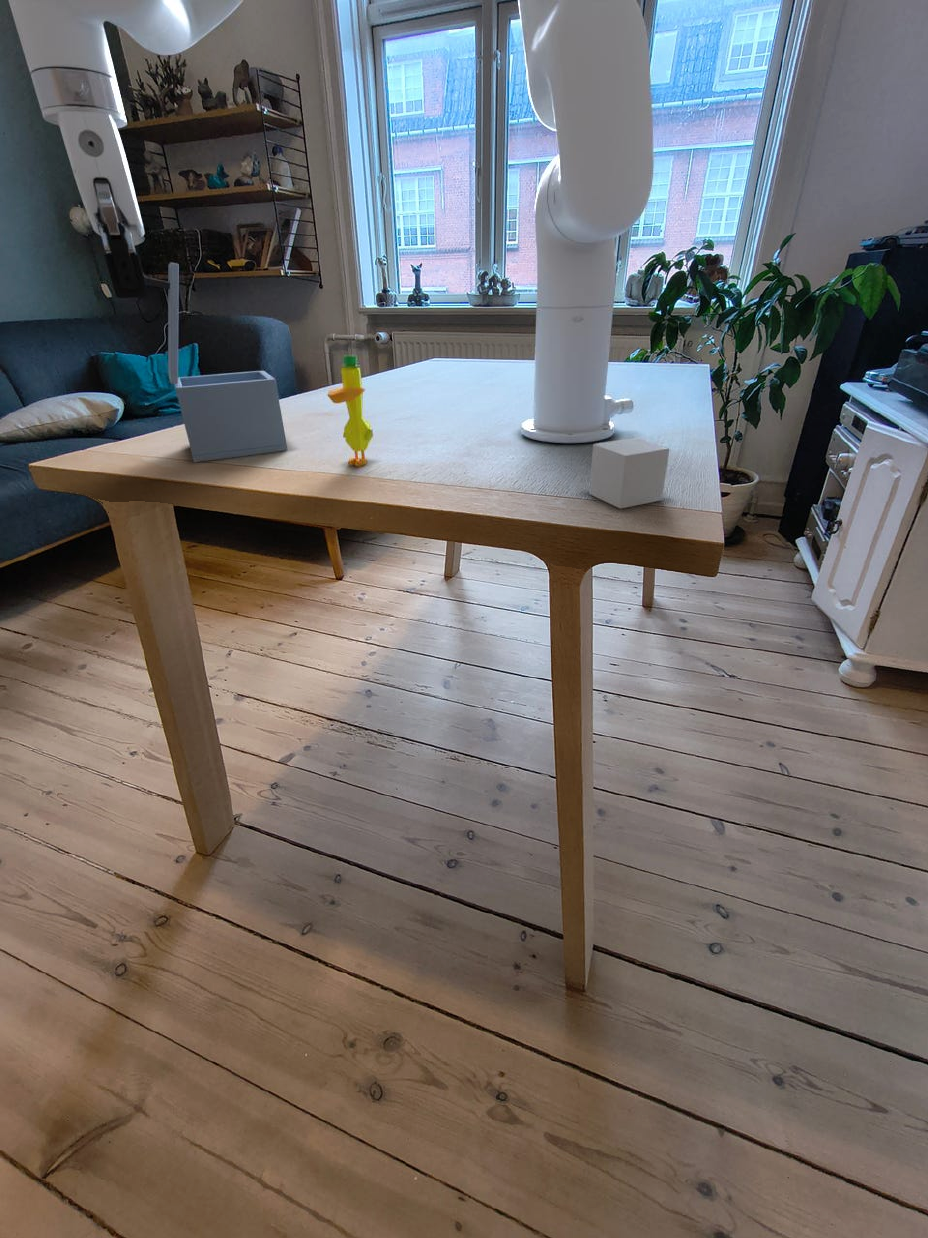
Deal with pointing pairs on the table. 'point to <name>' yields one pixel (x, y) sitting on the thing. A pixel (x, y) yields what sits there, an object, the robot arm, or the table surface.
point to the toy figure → (353, 409)
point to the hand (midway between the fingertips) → (133, 296)
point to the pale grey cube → (628, 472)
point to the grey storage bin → (231, 415)
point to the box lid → (171, 317)
